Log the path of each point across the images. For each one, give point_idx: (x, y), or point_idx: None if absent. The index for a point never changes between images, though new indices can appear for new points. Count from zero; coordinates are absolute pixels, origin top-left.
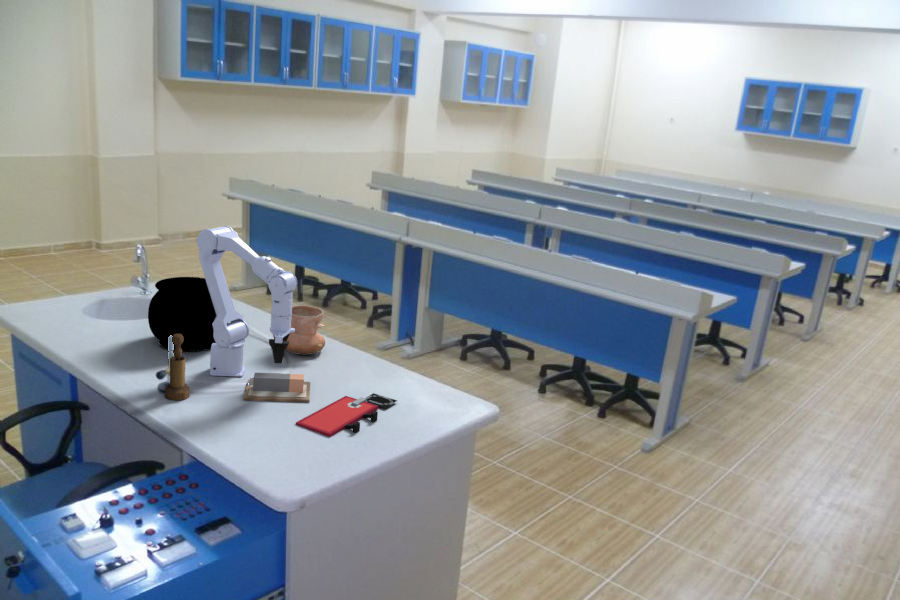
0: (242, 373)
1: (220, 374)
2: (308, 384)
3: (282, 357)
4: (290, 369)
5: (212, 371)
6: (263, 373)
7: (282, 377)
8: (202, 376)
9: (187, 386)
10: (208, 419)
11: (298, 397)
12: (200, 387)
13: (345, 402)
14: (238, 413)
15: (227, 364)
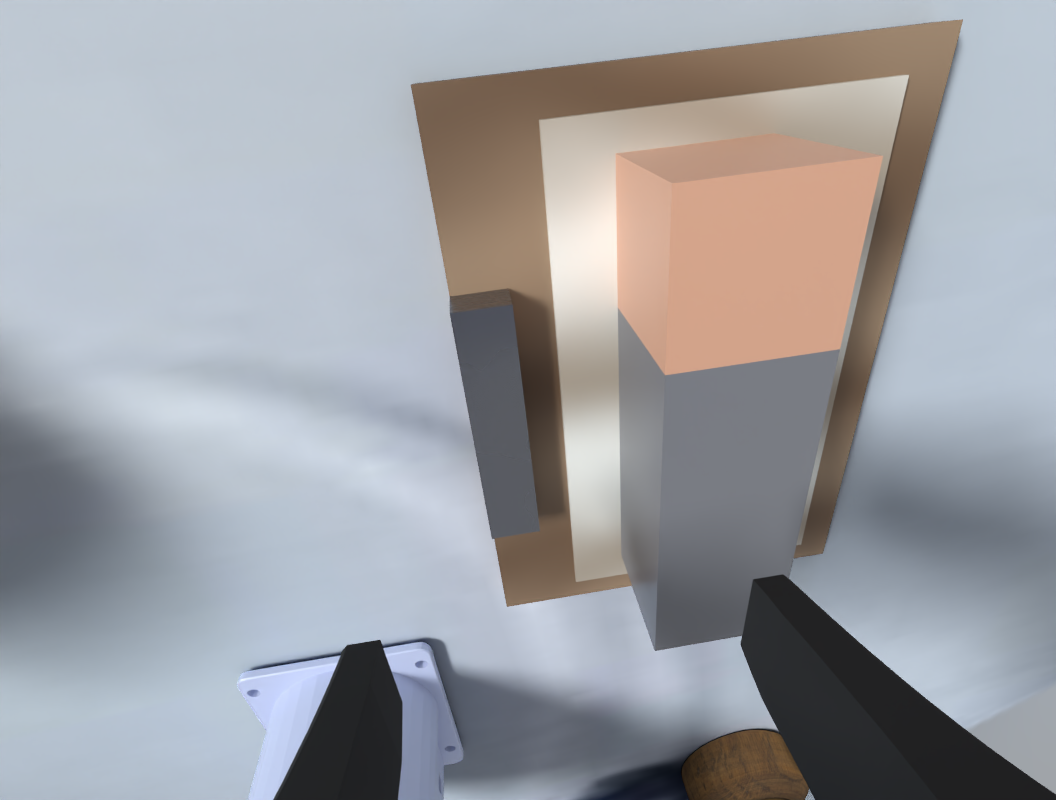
0: (391, 656)
1: (453, 730)
2: (501, 99)
3: (867, 659)
4: (57, 382)
5: (443, 769)
6: (675, 596)
7: (783, 430)
8: (478, 765)
9: (757, 791)
10: (1028, 605)
11: (884, 167)
12: (628, 731)
13: None
14: (1000, 515)
15: (436, 785)
